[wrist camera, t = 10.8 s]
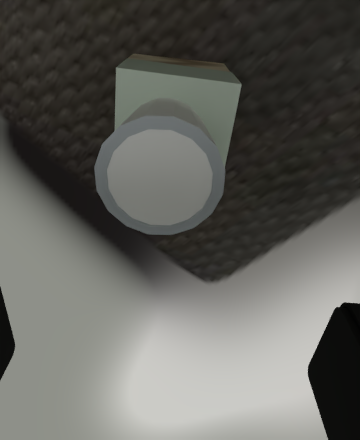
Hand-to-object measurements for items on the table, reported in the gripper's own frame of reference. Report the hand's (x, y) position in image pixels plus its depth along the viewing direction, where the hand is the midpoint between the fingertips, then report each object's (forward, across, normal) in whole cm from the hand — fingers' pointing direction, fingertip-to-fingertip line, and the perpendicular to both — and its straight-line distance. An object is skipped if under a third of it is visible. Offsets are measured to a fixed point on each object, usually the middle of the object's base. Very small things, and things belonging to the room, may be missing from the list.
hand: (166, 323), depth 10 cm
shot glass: (+17, +1, 0) cm, 17 cm away
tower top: (+21, +1, 0) cm, 21 cm away
